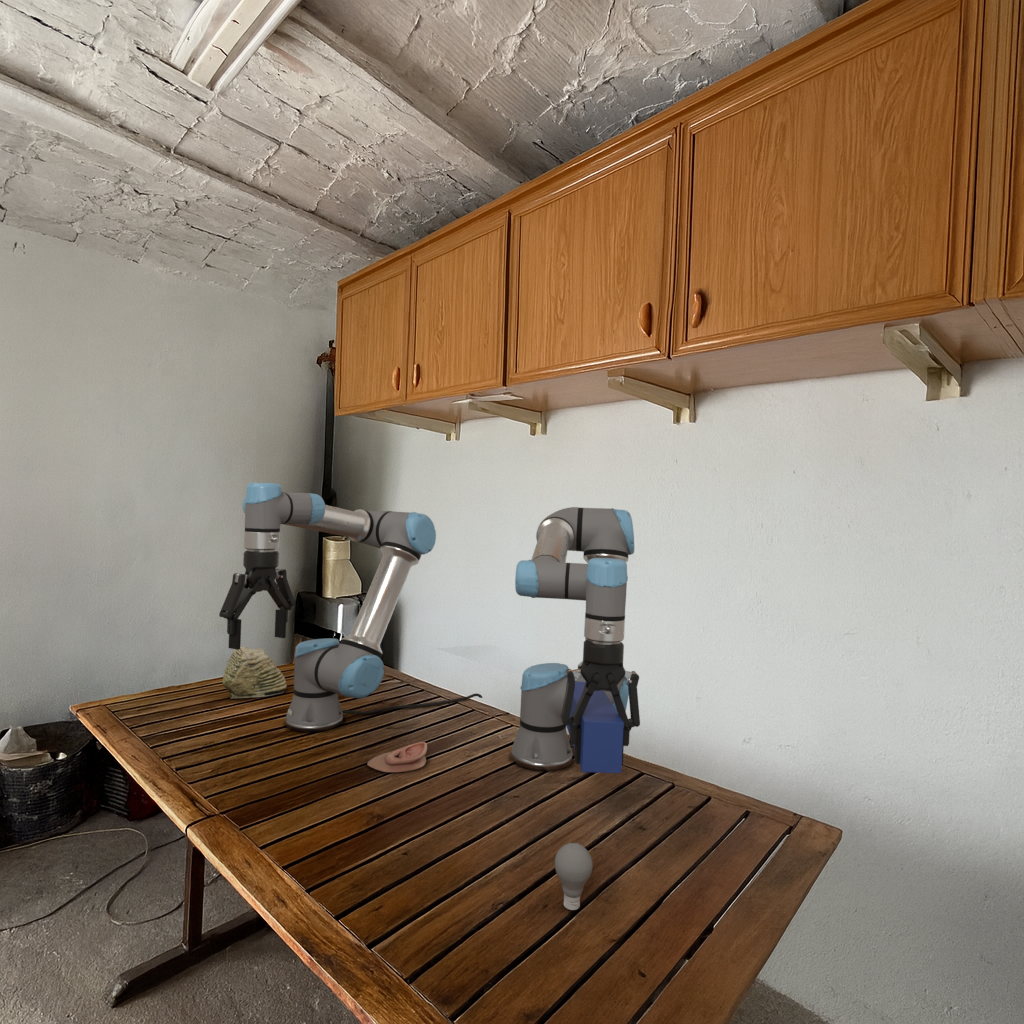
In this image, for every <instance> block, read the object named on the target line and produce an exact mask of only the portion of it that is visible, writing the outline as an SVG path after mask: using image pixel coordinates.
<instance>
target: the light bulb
mask: <svg viewBox="0 0 1024 1024" xmlns="http://www.w3.org/2000/svg"><path fill="white" fill-rule="evenodd" d="M593 866H594V863H593V859H592V856H591V854H590V852H589V850H588V849H586V847H585V846H583V845H582V844H580V843H577V842H568V843H566V844H563V846H561V847H560V848H559V849H558V850H557V853H556V855H555V858H554V869H555V873H556V874H557V877H558V879H559V881H560V883H561V890H562V892H563V906H564V908H566V909H567V910H570V911H577V910H578V909H580V907H581V895H582V894H583V891H584V886H585V884H586V883H587V882H588V880H589V879H590V877H591V874H592V872H593Z"/></svg>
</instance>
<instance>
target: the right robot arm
mask: <svg viewBox="0 0 1024 1024" xmlns="http://www.w3.org/2000/svg"><path fill="white" fill-rule="evenodd" d="M634 533H635V532H634V524H633V519H632V515H631V513H630V512H629V511H628V510H626V509H617V508H613V507H612V508H604V507H603V508H602V507H600V508H599V507H578V506H572V507H571V506H570V507H565V508H562V509H561V508H560V509H558V510H557V511H554V512H553V513H550V514H549V515H547V516H546V517H544V519H542V520H541V522H540V523H539V525H538V526H537V529H536V534H535V538H536V545H535V548H534V551H533V553H532V556H531V559H526V560H519V561H518V562H517V564H516V568H515V579H514V580H515V581H514V586H515V587H514V588H515V592H516V594H517V595H518V596H521V597H528V598H532V599H535V598H536V599H555V600H570V601H571V600H573V601H585V613H584V628H583V629H584V631H583V637H584V639H585V640H584V641H583V650H582V660H581V661H580V662H579V663H578V664H577V668H576V669H571V668H569V666H568V665H567V664H564V663H559V662H545V663H538V664H535V665H531V666H529V667H527V668H525V670H524V671H523V673H522V675H521V676H522V677H521V685H520V712H519V727H518V730H517V733H516V735H515V738H514V741H513V744H512V746H511V751H510V759H511V761H512V762H513V763H515V764H516V765H518V766H520V767H522V768H525V769H528V770H532V771H540V772H553V771H558V770H559V771H560V770H562V769H565V768H567V767H569V766H570V765H571V764H572V763H573V762H572V761H573V759H574V761H575V764H577V765H579V764H580V753H581V731H582V729H581V727H580V724H579V723H580V720H581V718H582V716H583V714H584V711H585V709H586V707H587V705H588V702H589V700H590V698H591V696H592V695H593V693H594V691H601V690H604V691H605V693H606V695H607V696H608V698H609V700H610V701H611V703H612V705H613V706H614V708H615V710H616V711H617V713H618V714H619V716H620V718H621V719H622V721H623V723H624V728H623V750H622V766H623V765H624V748H625V747H629V745H630V731H631V730H632V728H634V727H636V728H638V727H640V725H641V719H640V717H641V716H640V707H639V706H640V705H639V696H638V694H639V693H638V685H639V681H640V676H639V674H638V673H637V672H636V671H635V670H632V671H629V670H626V669H625V667H624V653H625V652H624V651H625V644H624V642H623V641H624V640H625V629H626V628H625V626H626V604H627V586H628V585H627V584H628V580H629V579H628V578H629V576H628V564H627V563H628V562H629V556H631V555H634V553H635V534H634ZM568 551H569V552H570V551H571V552H582V553H583V555H582V556H583V560H584V561H585V562H586V563H581V562H580V563H579V562H578V563H577V562H566V561H567V555H568ZM577 681H579V682H586V684H585V686H584V690H583V692H582V694H581V697H580V699H579V701H578V703H577V706H576V708H575V710H574V712H573V715H572V717H570V712H571V706H572V701H573V695H574V690H575V682H577ZM628 702H629V713H630V714H629V716H630V718H628V714H627V708H628ZM566 724H567V725H569V726H570V735H569V734H568V730H567V726H566ZM568 735H569V736H568ZM573 744H575V750H574V755H573V751H572V746H571V745H573ZM573 756H574V757H573Z"/></svg>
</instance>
